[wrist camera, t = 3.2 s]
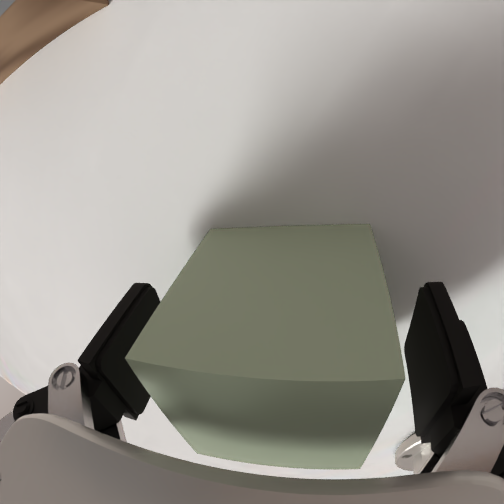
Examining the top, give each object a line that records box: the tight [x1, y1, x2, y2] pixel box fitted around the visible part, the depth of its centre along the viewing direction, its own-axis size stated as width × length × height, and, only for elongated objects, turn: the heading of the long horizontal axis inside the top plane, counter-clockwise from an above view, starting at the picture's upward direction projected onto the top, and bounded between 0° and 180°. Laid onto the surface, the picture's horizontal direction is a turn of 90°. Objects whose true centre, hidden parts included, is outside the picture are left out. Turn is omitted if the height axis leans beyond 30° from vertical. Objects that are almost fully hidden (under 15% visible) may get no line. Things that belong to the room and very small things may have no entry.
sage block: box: [125, 224, 405, 469], centre depth 9 cm, size 6×6×6 cm
